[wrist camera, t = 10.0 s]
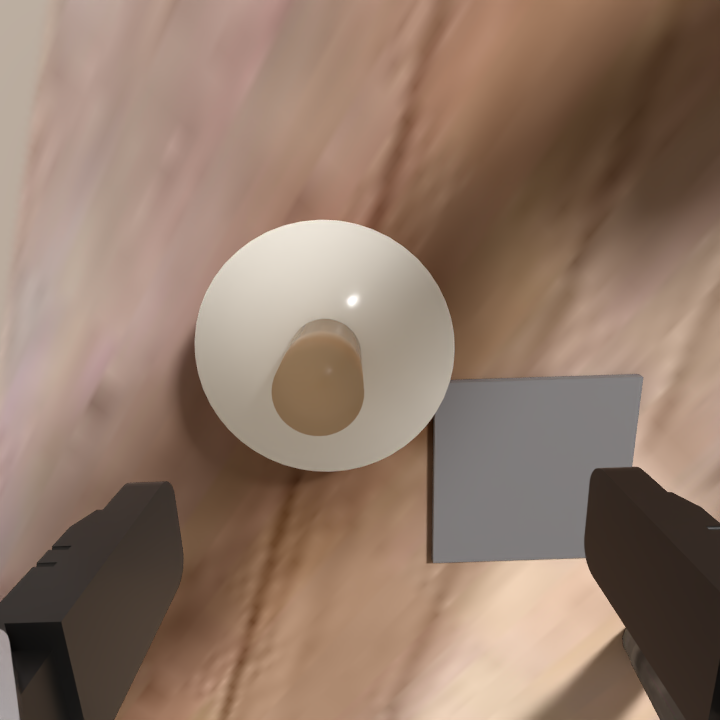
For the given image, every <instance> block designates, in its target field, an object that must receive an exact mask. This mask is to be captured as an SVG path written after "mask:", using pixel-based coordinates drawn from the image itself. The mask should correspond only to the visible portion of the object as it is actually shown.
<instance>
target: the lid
mask: <svg viewBox="0 0 720 720" xmlns="http://www.w3.org/2000/svg"><path fill="white" fill-rule="evenodd" d="M454 353H455V346H454V331H453V326H452V320H451V316H450V313H449V310H448V307H447V304H446V301H445V299H444V297H443V295H442V293H441V290H440V288H439V286H438V285H437V283H436V282H435V280H434V279H433V277H432V276H431V274H430V273H429V271H428V270H427V269H426V268H425V267H424V266H423V264H422V263H421V262H420V261H419V260H418V259H417V258H416V257H415V256H414V255H413V254H411V253H410V252H409V251H408V250H407V249H406V248H405V247H403V246H402V245H400V244H399V243H397V242H396V241H394V240H393V239H391V238H390V237H388V236H386V235H384V234H381V233H379V232H377V231H375V230H373V229H371V228H367V227H364V226H361V225H358V224H355V223H349V222H344V221H338V220H312V221H301V222H297V223H293V224H289V225H284V226H281V227H279V228H276V229H274V230H271V231H268V232H266V233H264V234H263V235H261V236H259V237H257V238H255V239H254V240H252V241H250V242H249V243H248V244H246V245H245V246H244V247H242V248H241V249H240V250H238V251H237V252H236V253H235V254H234V255H233V256H232V257H231V258H230V259H229V260H228V261H227V262H226V263H225V264H224V265H223V267H222V268H221V269H220V271H219V272H218V273H217V275H216V276H215V277H214V279H213V281H212V283H211V284H210V286H209V288H208V290H207V292H206V294H205V296H204V299H203V302H202V304H201V307H200V310H199V314H198V319H197V323H196V331H195V359H196V364H197V370H198V375H199V378H200V381H201V384H202V387H203V390H204V392H205V394H206V396H207V398H208V401H209V403H210V405H211V406H212V408H213V409H214V411H215V412H216V414H217V416H218V417H219V418H220V420H221V421H222V422H223V423H224V424H225V426H226V427H227V428H228V429H229V430H230V431H231V432H232V433H233V434H234V435H235V436H236V437H237V438H238V439H239V440H240V441H241V442H243V443H244V444H246V445H247V446H248V447H250V448H251V449H253V450H254V451H256V452H257V453H259V454H261V455H263V456H265V457H266V458H268V459H271V460H273V461H276V462H278V463H280V464H283V465H286V466H290V467H294V468H297V469H303V470H310V471H325V472H332V471H343V470H350V469H355V468H359V467H363V466H366V465H369V464H372V463H375V462H377V461H380V460H382V459H384V458H386V457H388V456H390V455H392V454H393V453H395V452H396V451H398V450H399V449H401V448H403V447H404V446H405V445H407V444H408V443H409V442H410V441H411V440H413V439H414V438H415V437H416V436H417V435H418V434H419V433H420V432H421V431H422V430H423V429H424V428H425V426H426V425H427V424H428V423H429V421H430V420H431V419H432V417H433V416H434V414H435V413H436V412H437V410H438V408H439V406H440V404H441V402H442V400H443V398H444V396H445V393H446V391H447V388H448V385H449V383H450V379H451V374H452V370H453V364H454Z"/></svg>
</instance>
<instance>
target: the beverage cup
mask: <svg viewBox="0 0 720 720" xmlns="http://www.w3.org/2000/svg"><path fill="white" fill-rule="evenodd" d="M622 639H623V647H624V649H625V650H626V652H627V654H628V656H629V658H630V660H631V664H632V666H633V668H634V670H635V672H636V674H637V676H638V678H639V680H640V682H641V684H642V686H643V687H644V689H645V691H646V693H647V695H648V697H649V699H650V701H651V703H652V705H653V707H654V709H655V711H656V713H657V715H658V716H659V718H660V720H686V719H685V718H684V716H683V714H682V713H681V711H680V710H679V708H678V707H677V705H676V704H675V702H674V701H673V699H672V698H671V696H670V694H669V693H668V691H667V690H666V688H665V687H664V685H663V684H662V682H661V681H660V679H659V678H658V676H657V674H656V673H655V671H654V670H653V668H652V667H651V665H650V664H649V662H648V661H647V659H646V658H645V656H644V654H643V653H642V651H641V650H640V648H639V647H638V645H637V644H636V642H635V641H634V639H633V637H632V636H631V634H630V633H629V631H628V630H627V628H626V630H625V631H624V635H623V638H622Z"/></svg>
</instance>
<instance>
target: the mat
mask: <svg viewBox="0 0 720 720" xmlns="http://www.w3.org/2000/svg"><path fill="white" fill-rule="evenodd" d="M642 383H643V377H642V376H641V375H639V374H626V375H594V376H562V377H530V378H498V379H466V380H450V383H449V385H448V388H447V391H446V393H445V396H444V398H443V400H442V402H441V404H440V406H439V408H438V410H437V412H436V413H435V414H434V416H433V501H432V560H433V563H448V562H477V561H506V560H535V559H564V558H586V556H585V550H584V535H585V525H586V514H587V504H588V493H589V483H590V477H591V474H592V472H593V470H594V469H596V468H614V467H632V463H633V455H634V447H635V439H636V431H637V423H638V415H639V407H640V399H641V391H642Z"/></svg>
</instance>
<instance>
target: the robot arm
mask: <svg viewBox="0 0 720 720" xmlns="http://www.w3.org/2000/svg"><path fill="white" fill-rule="evenodd" d="M584 550H585V556H586V561H587V564H588V567H589V570H590V572H591V574H592V576H593V577H594V579H595V581H596V582H597V584H598V585H599V587H600V588H601V590H602V591H603V593H604V594H605V596H606V597H607V599H608V601H609V602H610V604H611V605H612V607H613V608H614V610H615V611H616V613H617V614H618V616H619V617H620V619H621V621H622V622H623V624H624V625H625V627H626V628H627V630H628V631H629V633H630V634H631V636H632V637H633V639H634V641H635V642H636V644H637V645H638V647H639V648H640V650H641V651H642V653H643V654H644V656H645V658H646V659H647V661H648V662H649V664H650V665H651V667H652V668H653V670H654V671H655V673H656V674H657V676H658V678H659V679H660V681H661V682H662V684H663V685H664V687H665V688H666V690H667V691H668V693H669V694H670V696H671V698H672V699H673V701H674V702H675V704H676V705H677V707H678V708H679V710H680V711H681V713H682V714H683V716H684V718H685V719H686V720H720V523H719V522H718V521H717V520H716V519H714V518H713V517H712V516H711V515H710V514H708V513H707V512H706V511H705V510H704V509H703V508H701V507H700V506H698V505H696V504H694V503H692V502H690V501H688V500H686V499H684V498H682V497H680V496H678V495H676V494H674V493H672V492H667V491H666V490H665V489H663V488H662V487H661V486H660V485H659V484H658V483H657V482H656V481H655V480H653V479H652V478H651V477H650V476H649V475H648V474H647V473H646V472H644V471H643V470H642V469H641V468H639V467H614V468H596V469H594V470H593V472H592V474H591V477H590V483H589V493H588V504H587V514H586V525H585V535H584ZM182 572H183V547H182V541H181V534H180V527H179V521H178V514H177V507H176V500H175V494H174V490H173V487H172V485H171V484H170V483H169V482H167V481H166V482H136V483H127V484H125V485H124V486H123V487H122V488H121V490H120V491H119V492H118V493H117V494H116V495H115V496H114V498H113V499H112V500H111V501H110V502H109V503H108V505H107V506H106V507H105V508H104V509H103V510H96V511H94V512H93V513H91V514H90V515H88V516H87V517H85V518H83V519H82V520H80V521H79V522H77V523H76V524H74V525H72V526H71V527H70V528H69V529H68V530H67V531H66V532H65V533H64V534H63V535H62V536H61V537H60V538H59V540H58V541H57V542H56V543H55V544H54V545H53V546H52V550H48V551H47V552H46V554H45V555H44V556H43V557H42V558H41V559H40V560H39V561H38V562H37V566H36V567H33V568H32V569H31V570H30V571H29V572H28V573H27V574H26V575H25V576H24V577H23V578H22V579H21V581H20V582H19V583H18V584H17V585H16V586H15V587H14V588H13V589H12V590H11V591H10V592H9V593H8V595H7V596H6V597H5V598H4V599H3V600H2V601H1V602H0V720H114V719H115V717H116V715H117V713H118V711H119V709H120V707H121V705H122V703H123V701H124V698H125V696H126V694H127V692H128V690H129V688H130V686H131V684H132V682H133V680H134V678H135V676H136V674H137V672H138V670H139V668H140V665H141V663H142V661H143V659H144V657H145V655H146V653H147V651H148V649H149V647H150V645H151V643H152V641H153V639H154V637H155V635H156V632H157V630H158V628H159V626H160V624H161V622H162V620H163V618H164V616H165V614H166V612H167V610H168V608H169V606H170V604H171V602H172V600H173V597H174V595H175V593H176V591H177V589H178V587H179V584H180V581H181V577H182Z"/></svg>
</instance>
